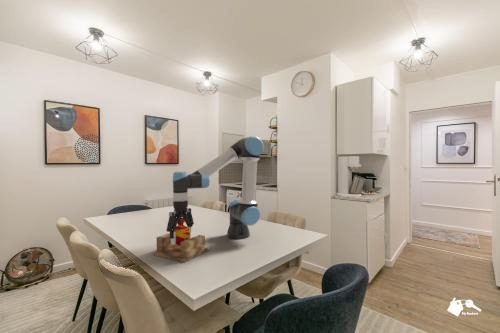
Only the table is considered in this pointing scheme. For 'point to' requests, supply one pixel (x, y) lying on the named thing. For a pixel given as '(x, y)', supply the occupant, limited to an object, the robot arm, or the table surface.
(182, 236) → the potion bottle
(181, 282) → the table surface
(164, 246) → the notched wooden block
